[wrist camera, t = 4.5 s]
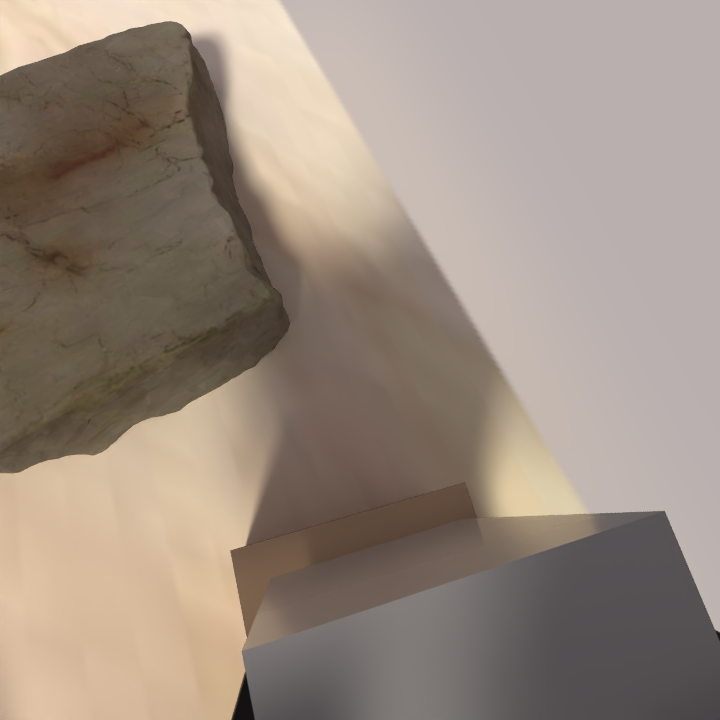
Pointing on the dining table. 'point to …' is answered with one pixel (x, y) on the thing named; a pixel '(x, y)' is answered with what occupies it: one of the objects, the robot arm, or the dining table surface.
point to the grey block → (492, 627)
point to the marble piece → (119, 246)
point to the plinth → (341, 540)
